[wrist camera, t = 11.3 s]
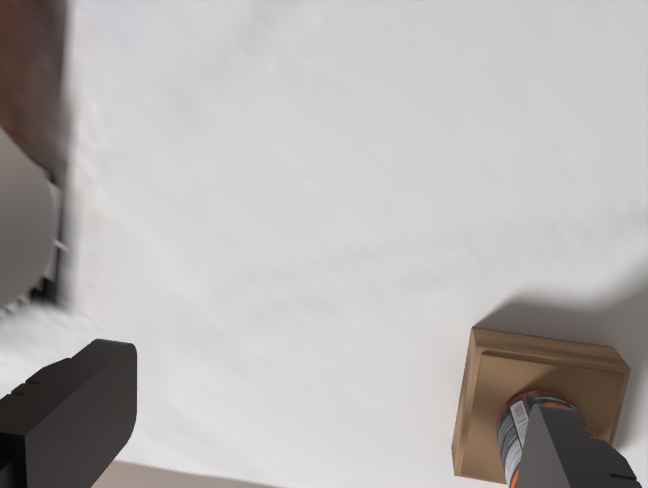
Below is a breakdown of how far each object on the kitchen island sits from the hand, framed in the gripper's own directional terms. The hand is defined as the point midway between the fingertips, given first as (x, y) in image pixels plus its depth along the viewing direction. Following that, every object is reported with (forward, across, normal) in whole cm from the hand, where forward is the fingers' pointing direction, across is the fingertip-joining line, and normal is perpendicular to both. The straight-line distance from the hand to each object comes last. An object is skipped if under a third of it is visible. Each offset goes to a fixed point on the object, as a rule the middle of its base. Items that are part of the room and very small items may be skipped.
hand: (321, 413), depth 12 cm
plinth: (+32, -12, +15) cm, 37 cm away
